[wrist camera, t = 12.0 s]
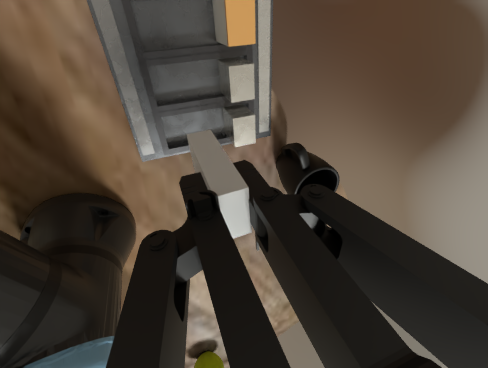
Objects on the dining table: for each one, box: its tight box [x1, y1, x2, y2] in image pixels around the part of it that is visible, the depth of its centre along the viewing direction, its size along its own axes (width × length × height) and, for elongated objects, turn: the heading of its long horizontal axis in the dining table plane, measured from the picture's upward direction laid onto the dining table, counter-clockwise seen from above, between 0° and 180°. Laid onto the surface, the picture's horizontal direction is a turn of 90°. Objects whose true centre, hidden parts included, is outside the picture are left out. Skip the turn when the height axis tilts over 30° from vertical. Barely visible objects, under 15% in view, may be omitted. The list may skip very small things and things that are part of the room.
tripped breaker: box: [212, 0, 256, 47], centre depth 27 cm, size 3×4×5 cm
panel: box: [87, 0, 273, 162], centre depth 30 cm, size 20×20×6 cm
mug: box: [276, 143, 339, 195], centre depth 41 cm, size 8×12×10 cm
